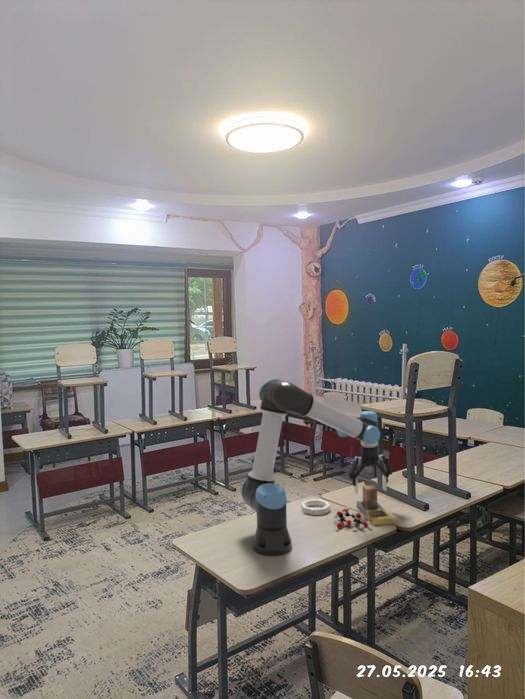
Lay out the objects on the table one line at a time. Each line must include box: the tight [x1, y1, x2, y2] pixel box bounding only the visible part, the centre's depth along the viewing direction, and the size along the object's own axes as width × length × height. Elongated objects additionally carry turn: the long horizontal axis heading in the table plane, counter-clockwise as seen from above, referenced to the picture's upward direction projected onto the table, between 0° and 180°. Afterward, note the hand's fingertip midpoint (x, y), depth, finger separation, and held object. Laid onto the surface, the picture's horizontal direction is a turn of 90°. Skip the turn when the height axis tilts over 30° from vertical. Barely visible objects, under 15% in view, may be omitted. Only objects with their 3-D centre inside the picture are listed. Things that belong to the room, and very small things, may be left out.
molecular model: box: [333, 506, 372, 530], centre depth 210 cm, size 10×12×15 cm
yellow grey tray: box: [356, 500, 395, 526], centre depth 219 cm, size 9×21×3 cm, turn 9°
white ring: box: [300, 498, 331, 516], centre depth 227 cm, size 12×12×2 cm
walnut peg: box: [362, 484, 378, 508], centre depth 224 cm, size 5×5×11 cm
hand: (370, 491), depth 224 cm, fingers open, 13 cm apart
